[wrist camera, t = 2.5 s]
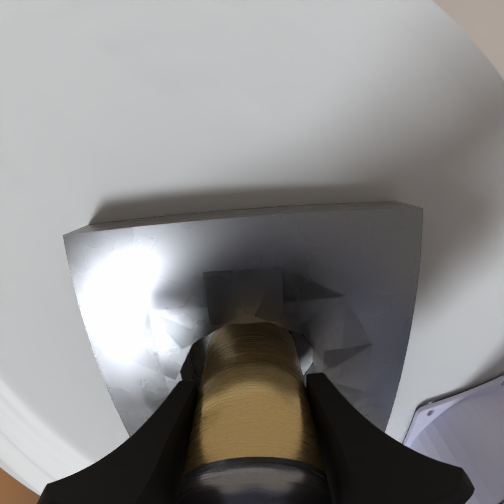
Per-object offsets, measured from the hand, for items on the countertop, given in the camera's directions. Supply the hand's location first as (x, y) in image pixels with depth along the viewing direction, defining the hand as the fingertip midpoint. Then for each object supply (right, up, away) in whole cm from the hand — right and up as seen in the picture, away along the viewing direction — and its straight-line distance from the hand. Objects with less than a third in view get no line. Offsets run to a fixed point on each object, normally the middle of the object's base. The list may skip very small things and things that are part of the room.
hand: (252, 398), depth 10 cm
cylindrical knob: (0, +1, +3) cm, 3 cm away
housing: (0, +1, +3) cm, 3 cm away
